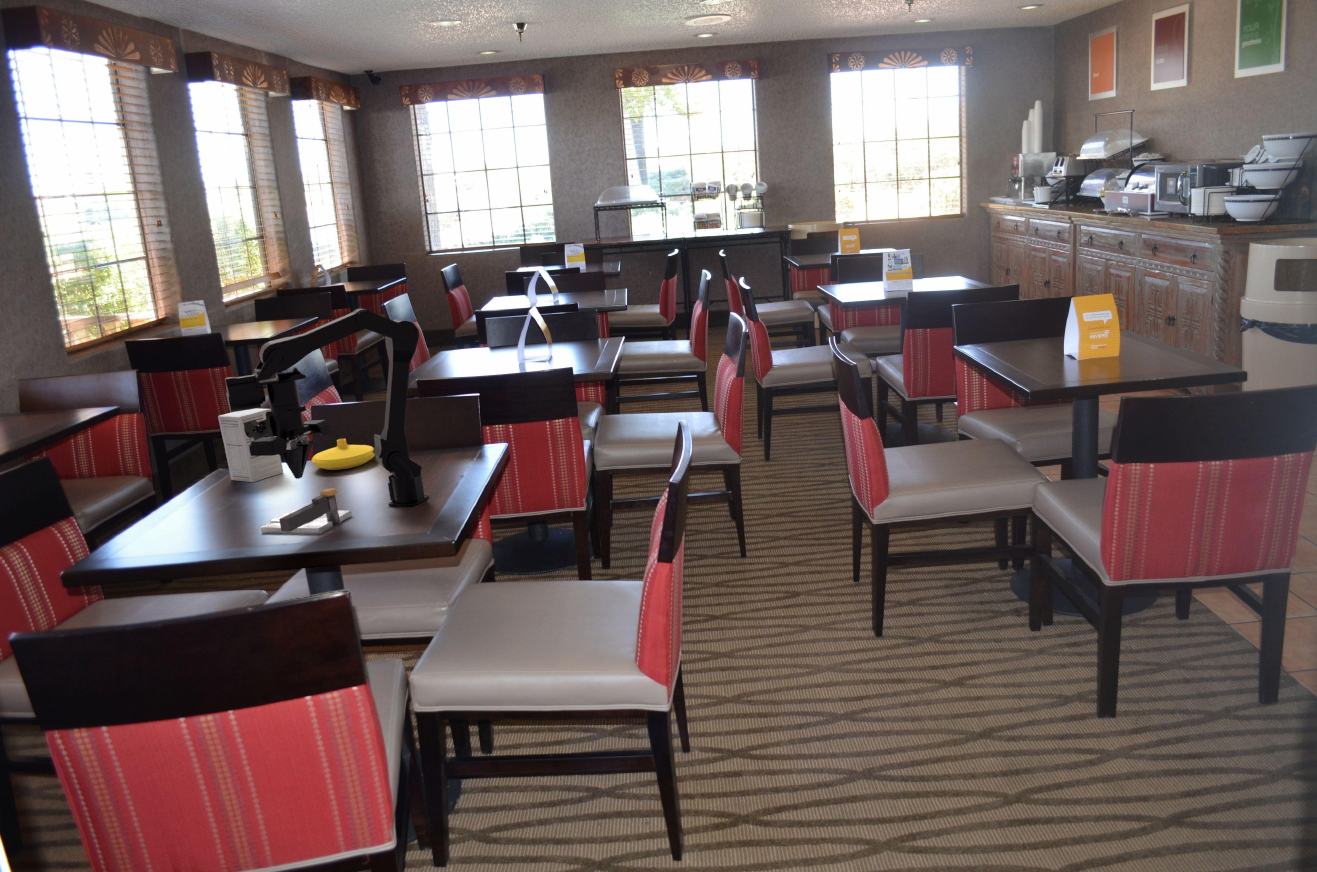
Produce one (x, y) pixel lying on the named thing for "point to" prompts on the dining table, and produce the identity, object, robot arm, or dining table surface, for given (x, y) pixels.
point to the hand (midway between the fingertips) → (298, 478)
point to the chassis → (315, 525)
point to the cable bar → (308, 511)
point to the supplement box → (246, 448)
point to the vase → (343, 456)
